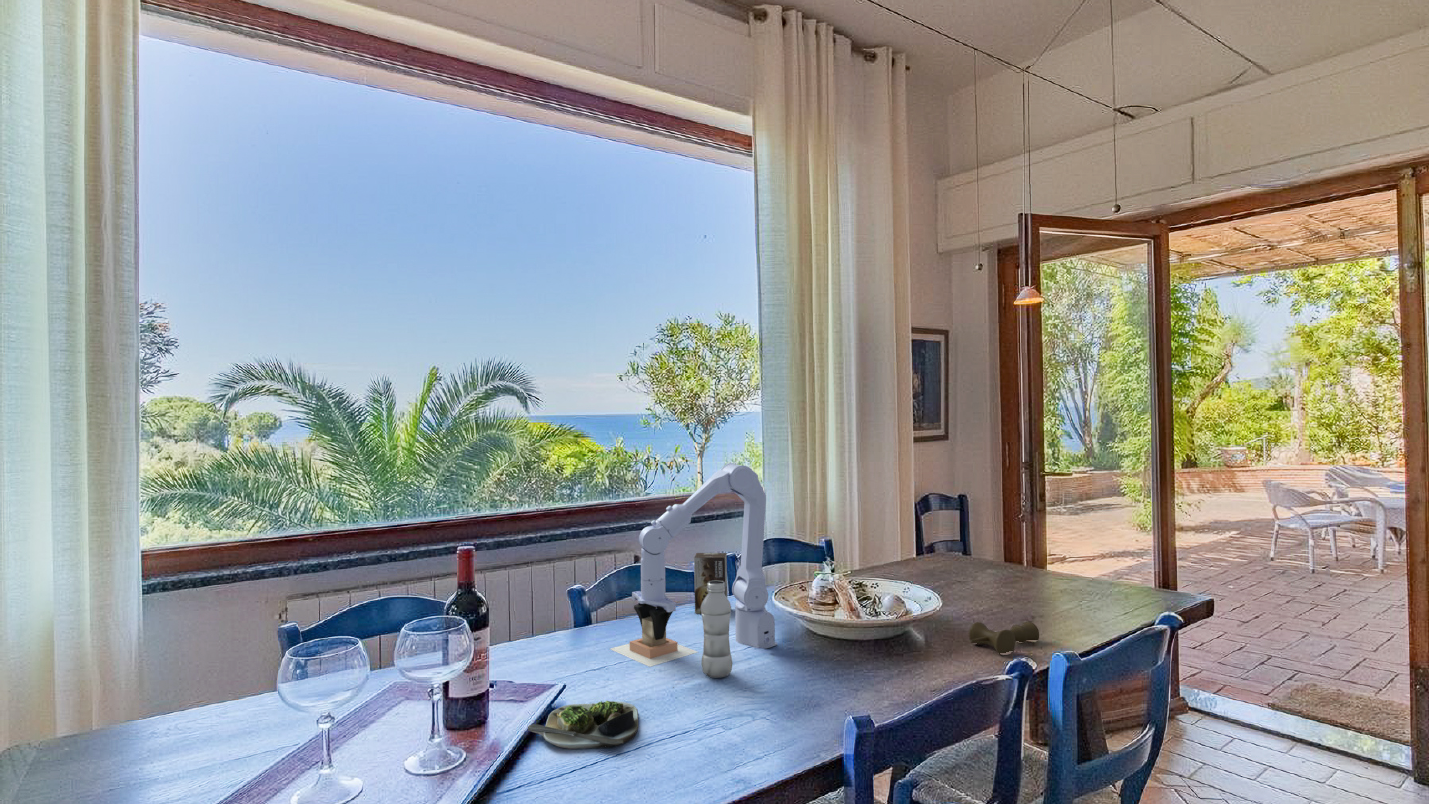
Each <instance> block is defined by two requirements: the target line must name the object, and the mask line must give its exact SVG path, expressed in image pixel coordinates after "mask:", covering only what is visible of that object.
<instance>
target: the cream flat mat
mask: <svg viewBox="0 0 1429 804" xmlns="http://www.w3.org/2000/svg"><path fill="white" fill-rule="evenodd" d="M677 644H678V643H677ZM609 650H611V651H613V652H615V653H618V654H620V655H622V656H624V657H627V658H629V659H631V660H633V661H634V662H638V663H639V664H641V665H644V666H647V667H648V668H651V667H654V666H658V665H660V664H661V665H662V664H664V663H666V662H670V661H673V660H678V659H680V658H684V657H686V656H690V655H694V654H697V653H698V651H697V650H694V649H691V648H689V647H687V646H683V645H681V644H678V651H675V652H671V653H668V654H665V655H661V656H658V657H654V658H651V659H649V658H647V657H645V656H642V655H640V654H638V653H635V652H633V651H631V650H630V642H629V643H626V644H622V645H618V646H615V647H612V648H609Z"/></svg>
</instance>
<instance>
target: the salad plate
mask: <svg viewBox="0 0 1429 804" xmlns="http://www.w3.org/2000/svg"><path fill="white" fill-rule="evenodd" d="M639 715H640V714H639V711H638V708H637V707H636V706H635V705H634V704H631V703H628V702H626V701H614V700H612V701H611V700H610V701H609V700H605V701H598V702H597V703H594V702H593V703H574V704H573V703H572V704H567V705H562V706H560V707H557V708H556V709H554V710H552V711H551V712H550V713H549V714H548V717H547V719H546V722H545V725H541V724H537V723H532V724H529V725H528V726H527V728H528V729H527V730H528V731H529V732H532V733H535V734H539V735H540V736H541V737H543V739H544V740H545V741H546V742H547V743H550V744H551V745H554V746H556V747H559V748H564V749H570V750H573V749H574V750H575V749H602V748H603V749H604V748H613V747H614V748H615V747H619V746H621V745H624V744H626V743H628V742H630V741H632V740H633V739H634V738H635V736H636V735H637V732H638V729H639Z"/></svg>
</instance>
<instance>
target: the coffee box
mask: <svg viewBox="0 0 1429 804" xmlns="http://www.w3.org/2000/svg"><path fill="white" fill-rule="evenodd" d="M727 555H728V554H727V552H697V553H695V556H694V557H693V566H694V567H693V568H694V574H693V575H694V614H695V615H696V614H697V615H698V614H699V615H700V614H701V604H702V602H703V600H704V599H705V597H706V596H707V594H708V591H707V583H708V582H709V581H723V582H725V592H724V594H725V596H726V597H727V598H728V569H727V568H728V564H727V563H728V562H727V561H728V560H727V557H728V556H727ZM701 615H702V614H701Z"/></svg>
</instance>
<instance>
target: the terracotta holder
mask: <svg viewBox="0 0 1429 804" xmlns="http://www.w3.org/2000/svg"><path fill="white" fill-rule="evenodd" d="M629 643H630V650H631V651H633V652H635V653H638V654H640V655H642V656H645V657H647V658H649V659H651V658H654V657H658V656H661V655H665V654H668V653H671V652H675V651H678V641H676V640H673V639H670V638H668V637H666V643H665V644H661V645H658V646H654V647H649V646H646V645H644V644H642V637H641V638H638V639H634V640H630V641H629Z"/></svg>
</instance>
